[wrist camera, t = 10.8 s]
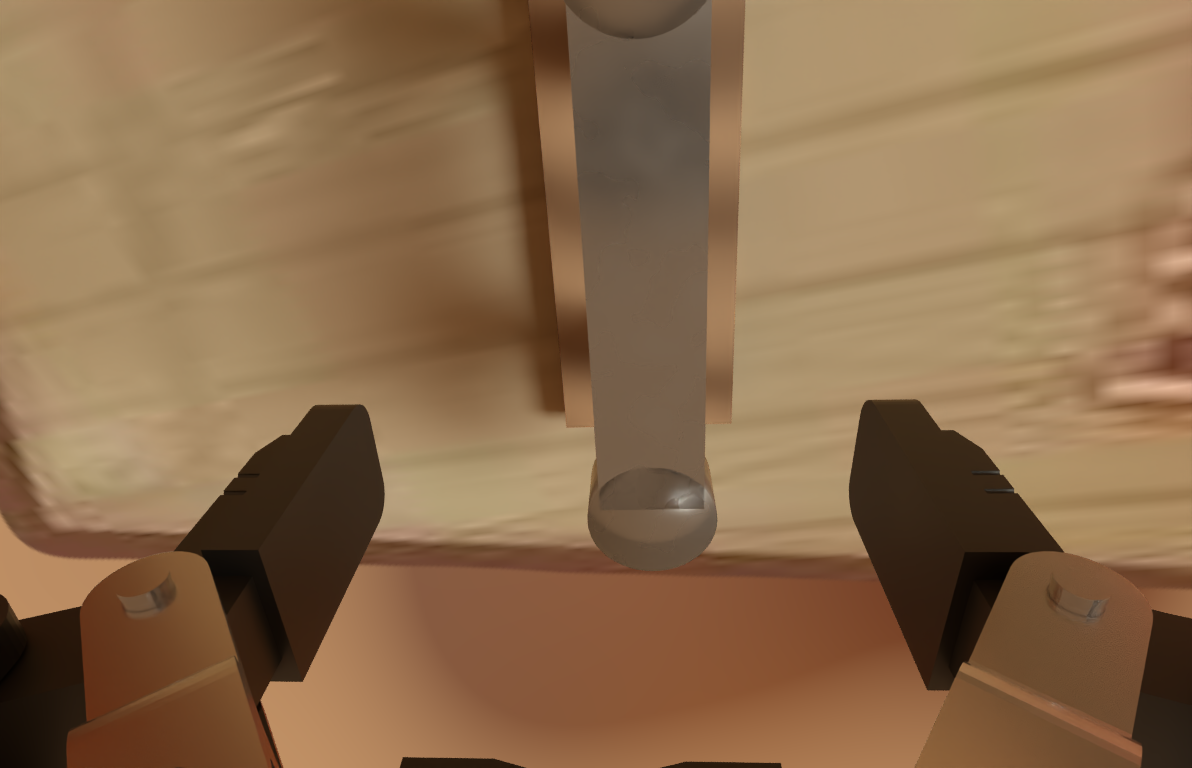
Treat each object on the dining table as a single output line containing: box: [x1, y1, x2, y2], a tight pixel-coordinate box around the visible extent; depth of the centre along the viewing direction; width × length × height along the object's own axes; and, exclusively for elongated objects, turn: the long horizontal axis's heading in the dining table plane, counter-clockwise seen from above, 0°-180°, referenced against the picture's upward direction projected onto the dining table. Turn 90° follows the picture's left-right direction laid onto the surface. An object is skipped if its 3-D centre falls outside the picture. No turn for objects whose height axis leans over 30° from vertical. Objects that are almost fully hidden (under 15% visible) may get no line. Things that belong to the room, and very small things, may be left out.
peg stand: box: [528, 0, 745, 428], centre depth 27 cm, size 22×8×10 cm, turn 3°
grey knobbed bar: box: [563, 0, 717, 571], centre depth 21 cm, size 21×4×2 cm, turn 3°
